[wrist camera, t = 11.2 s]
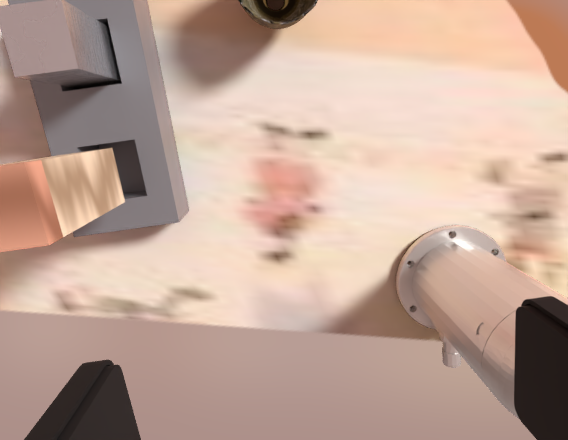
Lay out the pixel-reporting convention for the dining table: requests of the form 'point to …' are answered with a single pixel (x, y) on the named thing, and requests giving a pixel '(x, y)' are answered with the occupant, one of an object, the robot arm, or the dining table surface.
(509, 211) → the dining table surface
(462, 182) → the dining table surface
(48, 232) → the birch plug
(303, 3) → the cup
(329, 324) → the dining table surface
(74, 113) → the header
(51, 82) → the metal plug
